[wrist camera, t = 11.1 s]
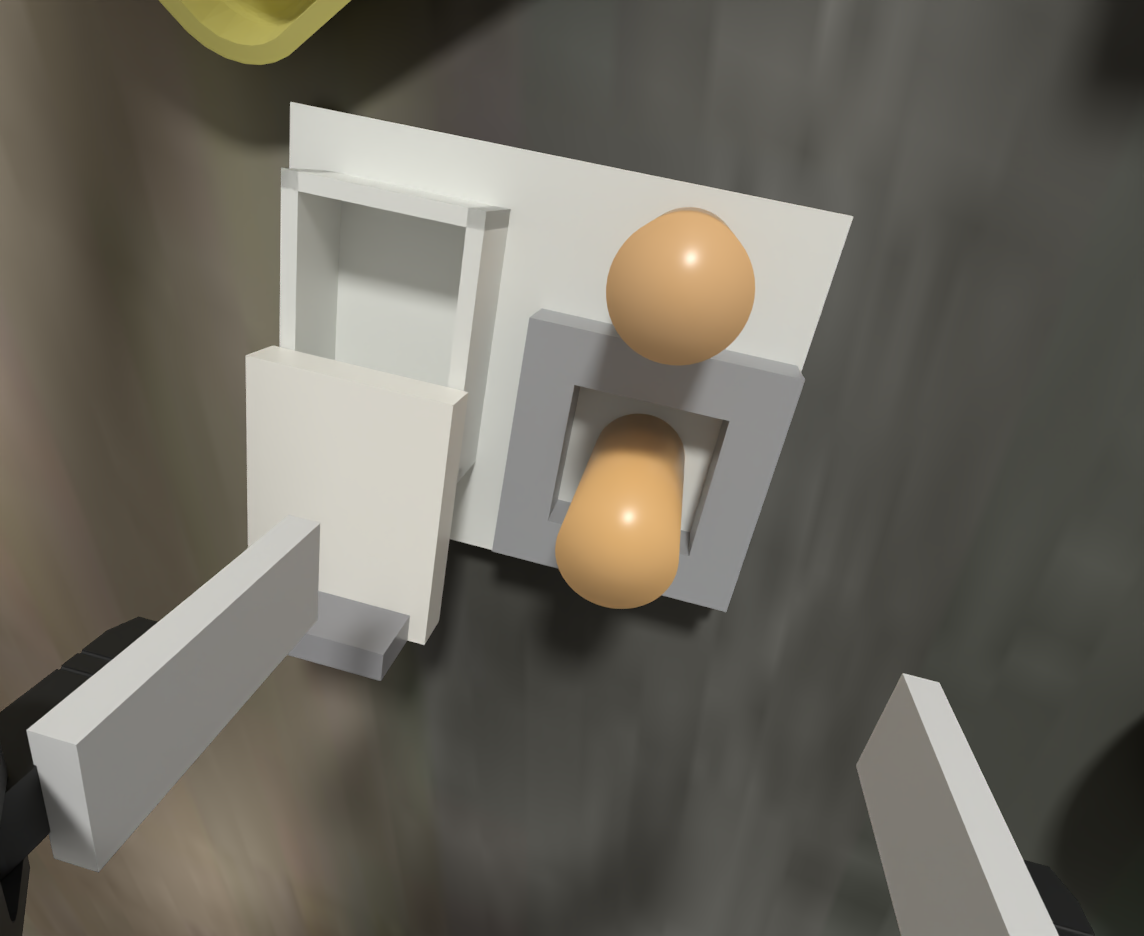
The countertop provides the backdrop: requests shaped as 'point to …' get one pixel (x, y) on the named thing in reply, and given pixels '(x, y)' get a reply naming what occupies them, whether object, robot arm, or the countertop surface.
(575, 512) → the peg
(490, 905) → the countertop surface
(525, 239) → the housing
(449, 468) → the lid
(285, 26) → the plastic component
